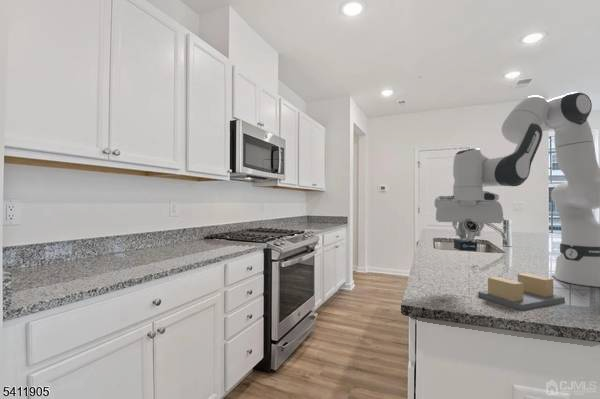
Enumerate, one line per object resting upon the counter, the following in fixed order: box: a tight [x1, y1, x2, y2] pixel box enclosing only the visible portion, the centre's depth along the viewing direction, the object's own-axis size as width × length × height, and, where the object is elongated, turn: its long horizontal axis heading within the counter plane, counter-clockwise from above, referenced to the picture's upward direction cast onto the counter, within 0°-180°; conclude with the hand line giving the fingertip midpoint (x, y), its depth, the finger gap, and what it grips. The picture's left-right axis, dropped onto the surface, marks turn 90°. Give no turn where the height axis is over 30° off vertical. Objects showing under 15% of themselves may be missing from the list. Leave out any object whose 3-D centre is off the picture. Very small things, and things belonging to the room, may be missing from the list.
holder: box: [477, 272, 566, 311], centre depth 93 cm, size 20×13×6 cm, turn 111°
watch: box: [453, 219, 480, 252], centre depth 103 cm, size 6×8×11 cm
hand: (467, 235), depth 103 cm, fingers closed on watch, 4 cm apart
